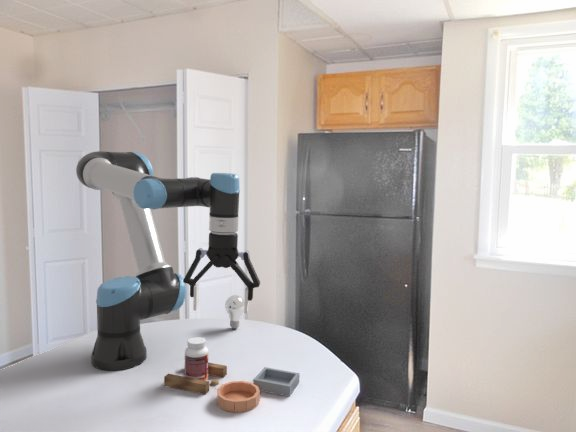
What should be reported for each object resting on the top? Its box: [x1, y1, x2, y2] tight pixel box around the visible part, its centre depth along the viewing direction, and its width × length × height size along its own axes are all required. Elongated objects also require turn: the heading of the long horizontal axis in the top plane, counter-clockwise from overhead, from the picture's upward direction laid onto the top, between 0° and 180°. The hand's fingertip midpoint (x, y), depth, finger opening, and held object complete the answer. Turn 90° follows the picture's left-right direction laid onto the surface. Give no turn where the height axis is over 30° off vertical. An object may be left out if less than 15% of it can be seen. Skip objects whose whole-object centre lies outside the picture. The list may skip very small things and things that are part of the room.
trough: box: [252, 366, 301, 397], centre depth 123 cm, size 10×8×3 cm
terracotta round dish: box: [216, 380, 261, 413], centre depth 115 cm, size 10×10×3 cm
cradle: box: [163, 361, 228, 395], centre depth 125 cm, size 12×12×2 cm
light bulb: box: [224, 294, 245, 330], centre depth 163 cm, size 7×7×12 cm
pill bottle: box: [184, 336, 209, 381], centre depth 125 cm, size 6×6×11 cm
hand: (221, 310), depth 126 cm, fingers open, 13 cm apart
